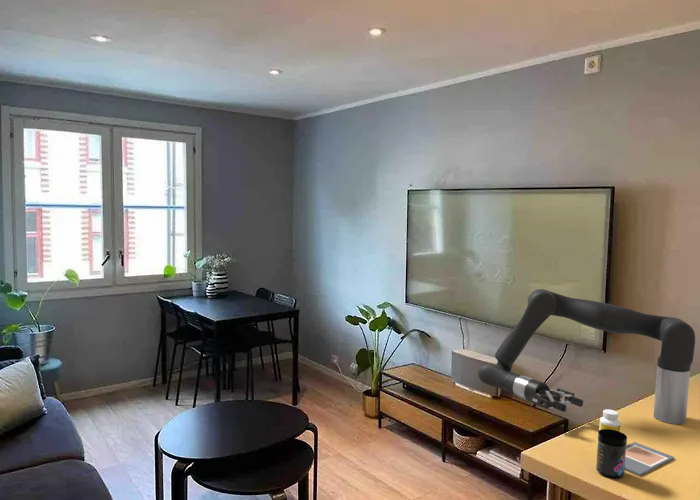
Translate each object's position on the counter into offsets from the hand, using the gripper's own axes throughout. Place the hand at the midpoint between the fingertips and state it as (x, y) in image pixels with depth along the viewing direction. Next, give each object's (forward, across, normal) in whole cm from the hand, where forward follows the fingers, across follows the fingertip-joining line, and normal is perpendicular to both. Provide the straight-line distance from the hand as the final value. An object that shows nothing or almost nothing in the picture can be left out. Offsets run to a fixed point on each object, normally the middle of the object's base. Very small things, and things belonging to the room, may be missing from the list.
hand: (574, 406), depth 164 cm
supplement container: (+21, -16, +8) cm, 28 cm away
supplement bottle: (+12, 0, +8) cm, 14 cm away
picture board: (+21, -2, +7) cm, 22 cm away
